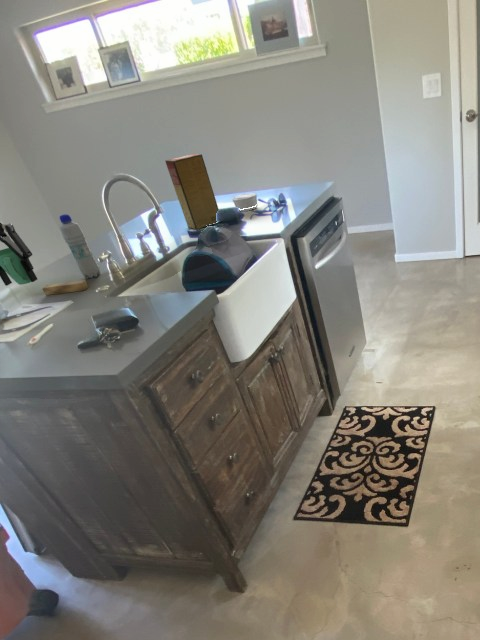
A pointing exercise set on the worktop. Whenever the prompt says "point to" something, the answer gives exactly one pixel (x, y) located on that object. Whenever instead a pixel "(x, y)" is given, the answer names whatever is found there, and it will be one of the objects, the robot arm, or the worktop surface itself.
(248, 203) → the ramekin
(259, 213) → the worktop surface
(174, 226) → the worktop surface
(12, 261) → the mug
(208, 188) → the food packaging
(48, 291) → the stick
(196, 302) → the worktop surface
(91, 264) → the bottle
